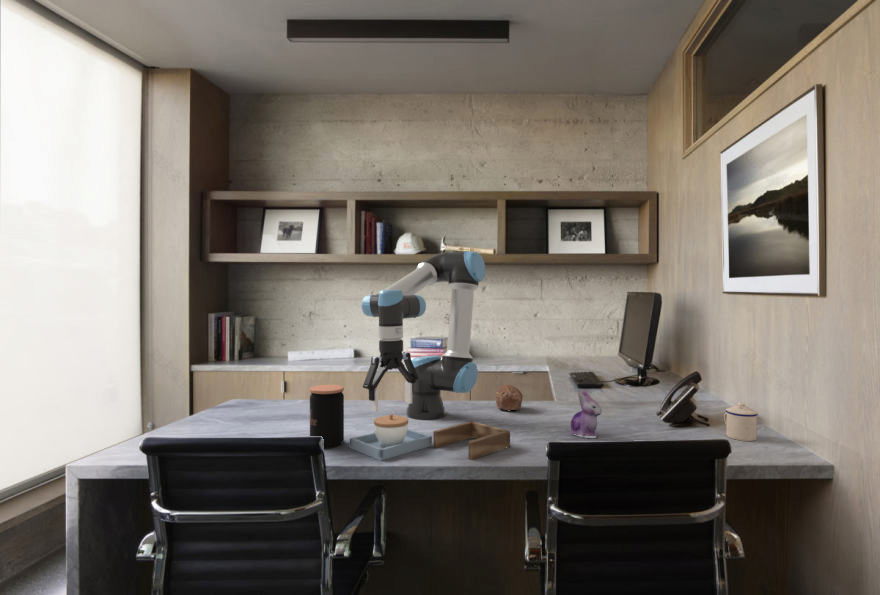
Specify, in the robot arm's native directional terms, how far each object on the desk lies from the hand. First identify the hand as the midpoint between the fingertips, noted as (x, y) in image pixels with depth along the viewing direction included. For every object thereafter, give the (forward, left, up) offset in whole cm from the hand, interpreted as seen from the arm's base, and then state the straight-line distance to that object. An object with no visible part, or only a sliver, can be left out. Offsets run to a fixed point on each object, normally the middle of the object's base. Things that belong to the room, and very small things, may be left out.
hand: (392, 406), depth 156 cm
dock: (+18, +18, -13) cm, 28 cm away
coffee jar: (-16, -13, -13) cm, 25 cm away
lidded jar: (0, 0, -12) cm, 12 cm away
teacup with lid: (+72, +92, -13) cm, 117 cm away
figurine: (+36, +56, -13) cm, 67 cm away
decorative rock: (-5, +66, -13) cm, 67 cm away
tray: (0, 0, -13) cm, 13 cm away
